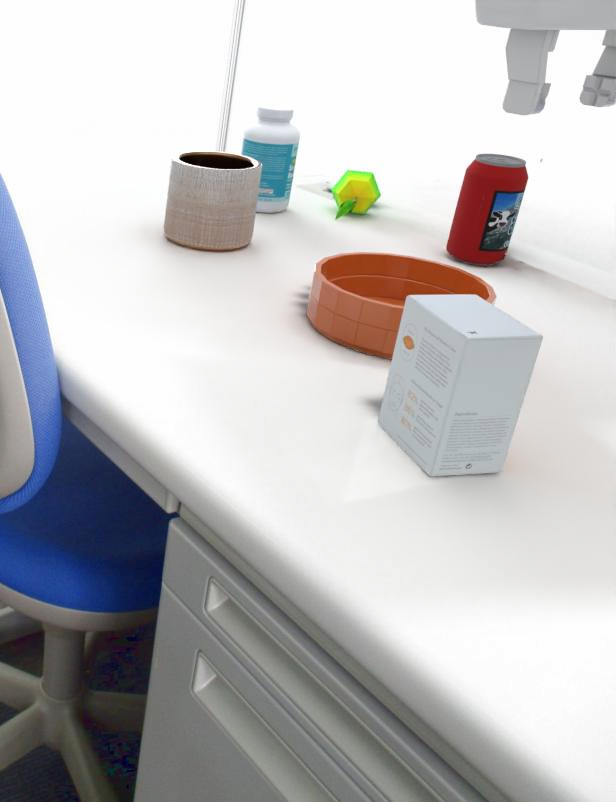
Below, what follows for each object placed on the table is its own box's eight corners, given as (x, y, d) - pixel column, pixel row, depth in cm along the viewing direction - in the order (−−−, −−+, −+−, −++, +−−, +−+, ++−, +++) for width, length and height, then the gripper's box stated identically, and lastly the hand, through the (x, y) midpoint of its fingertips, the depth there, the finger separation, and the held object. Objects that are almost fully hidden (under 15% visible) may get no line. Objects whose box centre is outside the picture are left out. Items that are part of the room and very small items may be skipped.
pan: (403, 292, 93) (414, 247, 91) (519, 353, 80) (536, 302, 78) (274, 305, 88) (282, 257, 86) (375, 373, 75) (388, 319, 72)
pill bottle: (294, 215, 119) (311, 112, 113) (241, 213, 118) (256, 110, 112) (279, 201, 126) (294, 103, 119) (228, 199, 125) (242, 101, 119)
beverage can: (497, 272, 101) (528, 168, 96) (438, 259, 104) (464, 158, 99) (507, 258, 106) (537, 158, 101) (450, 246, 110) (476, 149, 104)
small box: (502, 475, 61) (548, 336, 56) (428, 479, 60) (468, 337, 55) (441, 420, 68) (477, 292, 63) (374, 422, 67) (406, 292, 62)
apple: (359, 154, 121) (362, 166, 113) (389, 188, 122) (393, 202, 114) (318, 189, 125) (318, 203, 117) (347, 221, 126) (349, 238, 118)
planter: (155, 225, 111) (163, 148, 107) (238, 227, 113) (249, 151, 108) (172, 251, 102) (181, 169, 97) (262, 253, 103) (275, 172, 99)
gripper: (613, -186, 39) (522, 129, 46) (774, -138, 51) (683, 109, 57) (484, -178, 44) (418, 109, 50) (659, -135, 55) (586, 94, 61)
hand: (560, 109), depth 54 cm, fingers open, 8 cm apart
